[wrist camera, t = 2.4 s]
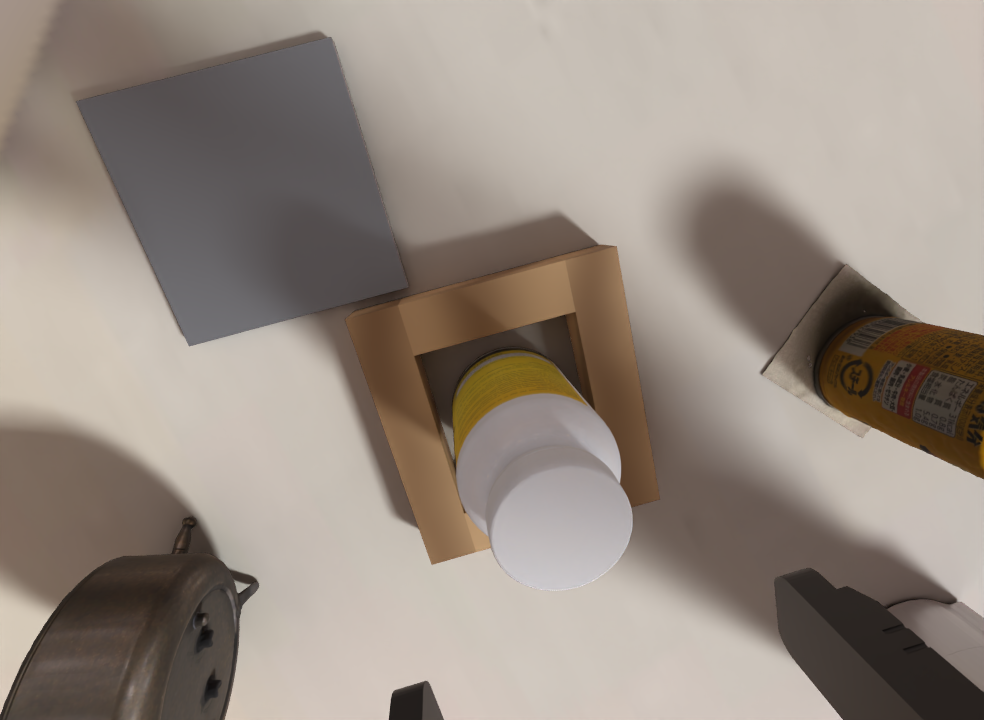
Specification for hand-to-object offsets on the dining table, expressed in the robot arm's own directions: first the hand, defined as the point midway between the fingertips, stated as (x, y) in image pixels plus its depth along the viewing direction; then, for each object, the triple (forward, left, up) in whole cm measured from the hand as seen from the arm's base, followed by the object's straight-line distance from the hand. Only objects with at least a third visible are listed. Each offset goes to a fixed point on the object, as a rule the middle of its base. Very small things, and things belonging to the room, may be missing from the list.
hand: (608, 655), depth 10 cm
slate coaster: (+9, -13, -16) cm, 23 cm away
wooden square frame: (0, 0, -16) cm, 16 cm away
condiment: (-20, +3, -16) cm, 26 cm away
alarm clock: (+19, +6, -16) cm, 26 cm away
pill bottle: (0, 0, -16) cm, 16 cm away
